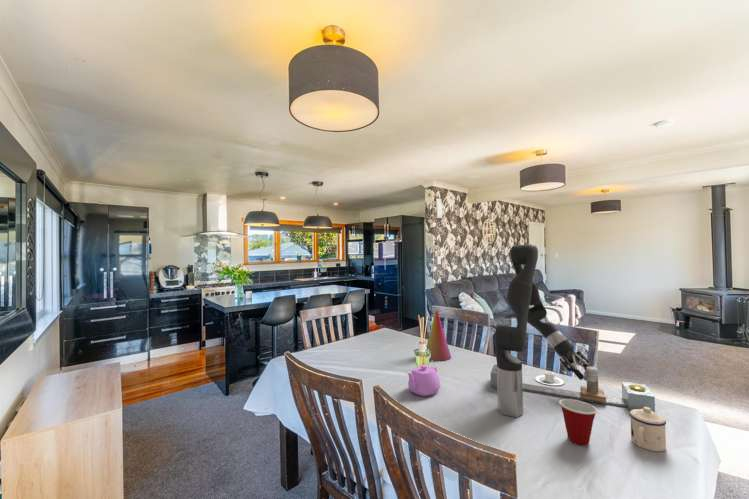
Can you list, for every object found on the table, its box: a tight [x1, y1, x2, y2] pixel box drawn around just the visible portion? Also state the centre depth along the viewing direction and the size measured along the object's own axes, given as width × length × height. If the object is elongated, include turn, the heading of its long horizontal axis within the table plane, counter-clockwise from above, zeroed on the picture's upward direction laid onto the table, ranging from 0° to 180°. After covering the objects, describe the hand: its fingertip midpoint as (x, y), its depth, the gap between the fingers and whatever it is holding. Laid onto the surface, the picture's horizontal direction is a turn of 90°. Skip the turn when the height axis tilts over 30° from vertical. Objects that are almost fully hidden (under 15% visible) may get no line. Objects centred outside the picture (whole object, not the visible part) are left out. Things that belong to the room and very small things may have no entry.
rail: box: [490, 364, 656, 413], centre depth 142 cm, size 12×59×8 cm, turn 62°
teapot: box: [406, 364, 441, 397], centre depth 148 cm, size 20×13×12 cm, turn 131°
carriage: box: [580, 366, 607, 402], centre depth 137 cm, size 9×8×12 cm
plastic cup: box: [558, 398, 598, 447], centre depth 108 cm, size 11×11×12 cm
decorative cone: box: [426, 306, 452, 362], centre depth 196 cm, size 16×16×30 cm
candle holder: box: [534, 370, 564, 386], centre depth 157 cm, size 12×12×4 cm
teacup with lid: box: [629, 407, 667, 452], centre depth 105 cm, size 12×9×12 cm
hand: (587, 376), depth 139 cm, fingers open, 8 cm apart
